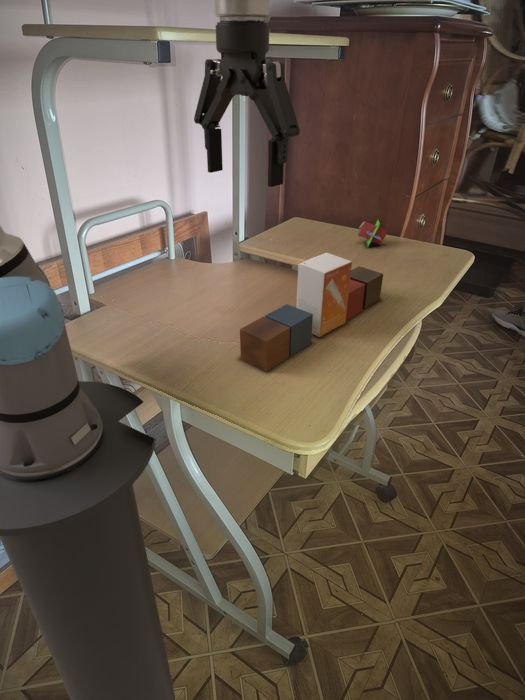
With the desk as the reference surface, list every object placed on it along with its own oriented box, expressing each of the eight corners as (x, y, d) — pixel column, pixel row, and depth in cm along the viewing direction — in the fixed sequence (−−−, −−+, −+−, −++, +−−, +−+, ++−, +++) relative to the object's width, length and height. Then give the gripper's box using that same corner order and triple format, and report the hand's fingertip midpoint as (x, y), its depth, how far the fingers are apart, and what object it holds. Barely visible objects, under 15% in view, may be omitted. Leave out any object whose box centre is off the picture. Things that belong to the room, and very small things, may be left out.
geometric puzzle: (391, 233, 135) (375, 209, 132) (394, 241, 130) (378, 217, 127) (367, 247, 138) (352, 224, 135) (370, 256, 132) (354, 233, 129)
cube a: (240, 359, 87) (239, 329, 83) (263, 345, 90) (263, 316, 87) (266, 372, 83) (266, 341, 80) (289, 357, 87) (290, 327, 84)
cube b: (264, 344, 91) (264, 315, 87) (286, 332, 94) (286, 303, 91) (290, 356, 87) (291, 326, 84) (311, 343, 91) (312, 314, 88)
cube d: (340, 300, 106) (342, 274, 102) (356, 291, 109) (358, 266, 106) (364, 309, 102) (367, 282, 99) (379, 299, 106) (383, 273, 103)
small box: (319, 338, 92) (324, 273, 85) (294, 326, 96) (297, 263, 89) (346, 323, 97) (353, 260, 90) (321, 312, 101) (325, 251, 94)
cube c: (320, 312, 101) (322, 285, 98) (337, 302, 105) (340, 275, 102) (345, 321, 98) (348, 294, 95) (362, 311, 102) (365, 284, 98)
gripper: (331, 19, 64) (319, 187, 76) (202, 22, 79) (209, 162, 90) (294, 17, 60) (287, 196, 71) (164, 20, 74) (176, 169, 85)
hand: (243, 178), depth 81 cm, fingers open, 13 cm apart
